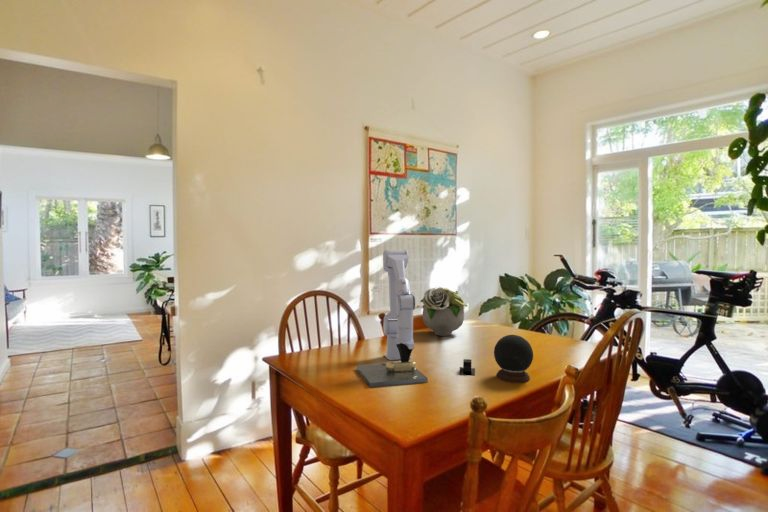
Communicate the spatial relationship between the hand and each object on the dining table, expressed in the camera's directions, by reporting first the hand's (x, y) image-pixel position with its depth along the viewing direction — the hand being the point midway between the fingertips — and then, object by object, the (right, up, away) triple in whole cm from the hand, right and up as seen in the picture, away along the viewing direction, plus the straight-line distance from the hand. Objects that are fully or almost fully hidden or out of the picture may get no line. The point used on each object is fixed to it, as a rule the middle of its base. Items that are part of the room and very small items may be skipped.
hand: (404, 363), depth 153 cm
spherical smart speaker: (+38, -3, -7) cm, 38 cm away
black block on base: (+23, -3, -1) cm, 23 cm away
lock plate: (-5, -3, -6) cm, 9 cm away
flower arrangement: (+23, -1, +61) cm, 65 cm away
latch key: (-2, -1, -6) cm, 6 cm away
